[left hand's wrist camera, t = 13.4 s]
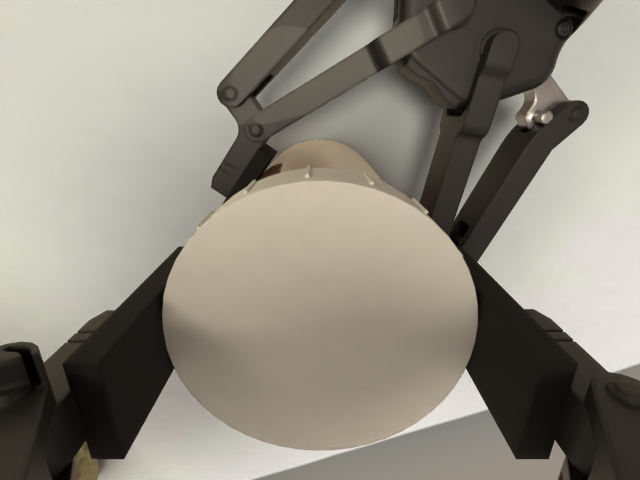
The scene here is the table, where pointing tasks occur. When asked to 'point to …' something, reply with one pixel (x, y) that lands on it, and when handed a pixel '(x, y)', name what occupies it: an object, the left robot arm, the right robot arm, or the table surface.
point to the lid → (320, 311)
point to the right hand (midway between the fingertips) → (273, 288)
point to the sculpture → (86, 464)
